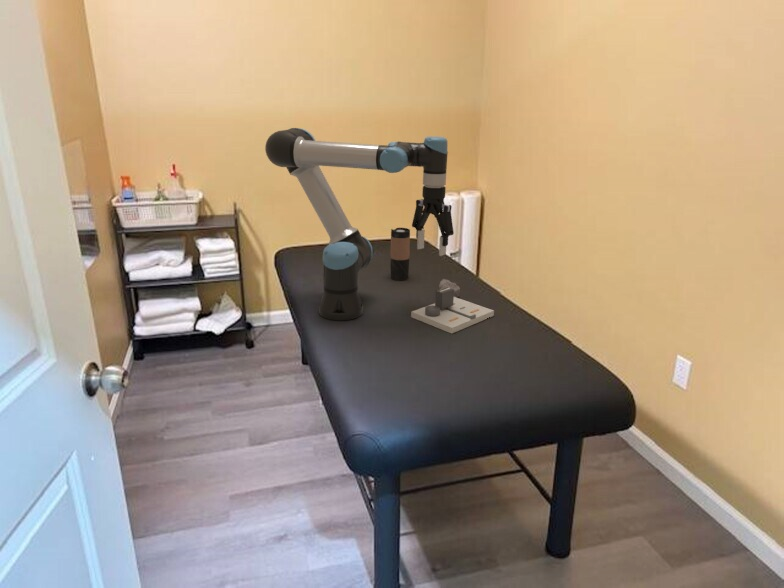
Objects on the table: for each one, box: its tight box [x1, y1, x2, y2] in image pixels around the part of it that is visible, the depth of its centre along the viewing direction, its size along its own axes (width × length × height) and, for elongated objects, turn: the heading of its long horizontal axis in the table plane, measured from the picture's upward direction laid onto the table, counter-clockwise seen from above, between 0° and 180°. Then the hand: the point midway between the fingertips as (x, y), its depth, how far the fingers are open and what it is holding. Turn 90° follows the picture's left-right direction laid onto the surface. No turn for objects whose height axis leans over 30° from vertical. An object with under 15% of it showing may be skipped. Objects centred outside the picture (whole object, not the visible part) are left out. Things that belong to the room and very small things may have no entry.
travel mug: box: [389, 227, 411, 282], centre depth 229 cm, size 8×8×20 cm
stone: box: [438, 278, 461, 298], centre depth 212 cm, size 8×10×6 cm
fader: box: [434, 287, 454, 310], centre depth 195 cm, size 6×3×6 cm, turn 134°
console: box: [410, 297, 495, 334], centre depth 194 cm, size 22×18×4 cm
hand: (431, 251), depth 195 cm, fingers open, 9 cm apart
